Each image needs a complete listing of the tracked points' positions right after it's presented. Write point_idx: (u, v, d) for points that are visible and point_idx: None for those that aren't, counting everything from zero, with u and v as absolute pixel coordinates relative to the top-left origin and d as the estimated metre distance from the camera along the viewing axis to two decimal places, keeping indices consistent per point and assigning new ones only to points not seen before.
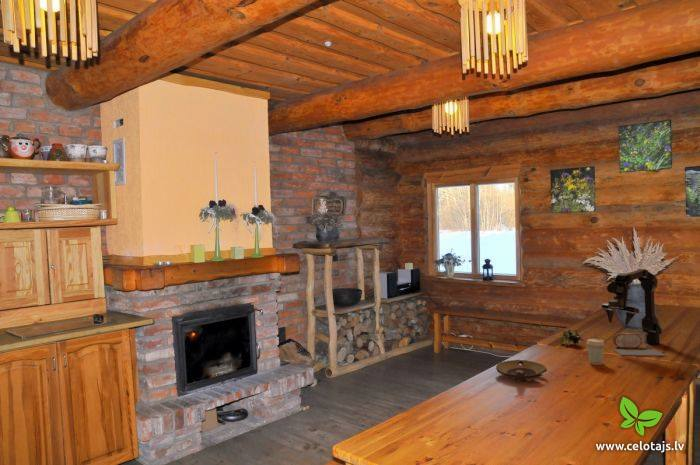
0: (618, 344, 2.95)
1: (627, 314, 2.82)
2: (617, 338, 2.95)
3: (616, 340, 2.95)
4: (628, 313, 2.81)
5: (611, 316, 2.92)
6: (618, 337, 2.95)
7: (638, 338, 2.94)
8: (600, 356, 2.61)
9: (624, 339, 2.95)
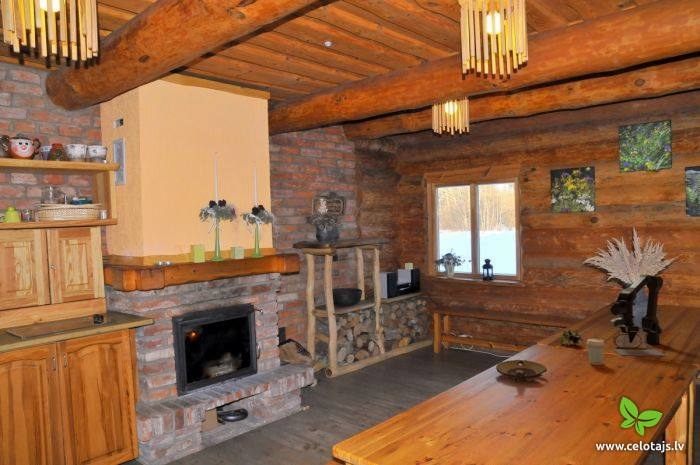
0: (618, 344, 2.95)
1: (627, 332, 2.90)
2: (617, 338, 2.95)
3: (616, 340, 2.95)
4: (627, 332, 2.90)
5: (625, 332, 3.00)
6: (618, 337, 2.95)
7: (638, 338, 2.94)
8: (600, 356, 2.61)
9: (624, 339, 2.95)
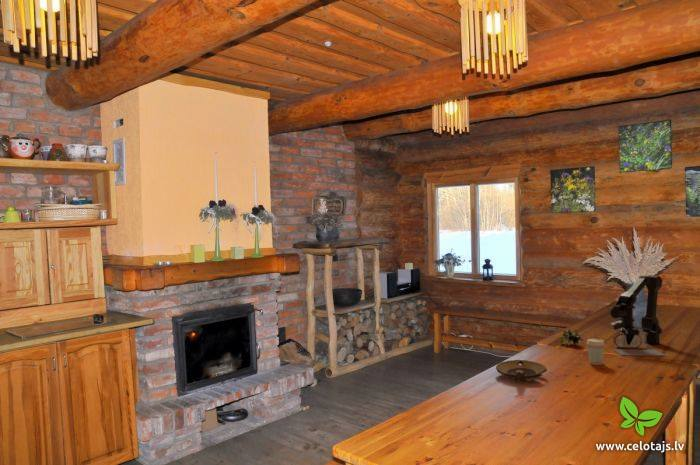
0: (618, 344, 2.95)
1: (625, 334, 2.93)
2: (617, 338, 2.95)
3: (616, 340, 2.95)
4: None
5: None
6: (618, 337, 2.95)
7: (638, 338, 2.94)
8: (600, 356, 2.61)
9: (624, 339, 2.95)
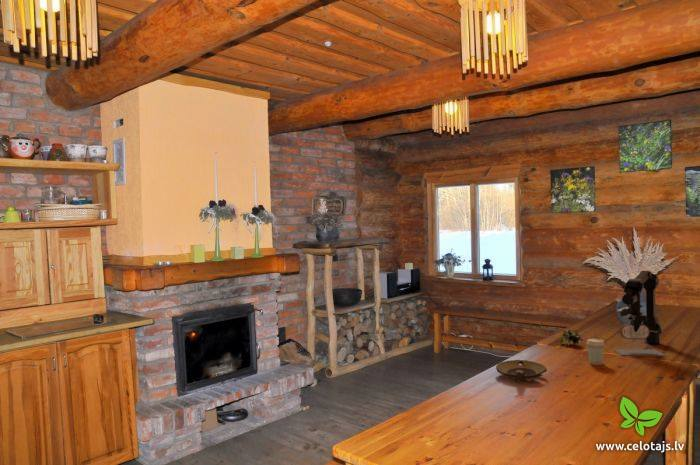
0: (625, 335, 2.86)
1: (632, 321, 2.84)
2: (624, 329, 2.86)
3: (622, 331, 2.86)
4: (632, 320, 2.83)
5: None
6: (624, 328, 2.86)
7: (645, 329, 2.84)
8: (600, 356, 2.61)
9: (631, 330, 2.85)
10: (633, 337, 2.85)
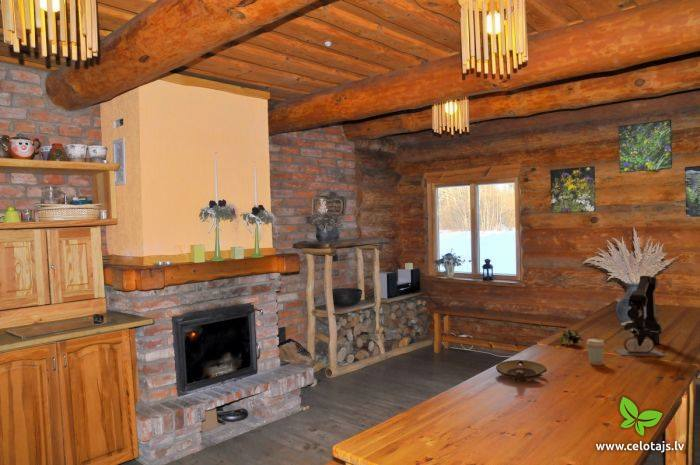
0: (629, 348, 2.82)
1: (636, 335, 2.80)
2: (628, 342, 2.82)
3: (627, 344, 2.83)
4: (636, 334, 2.80)
5: None
6: (629, 341, 2.82)
7: (650, 342, 2.81)
8: (600, 356, 2.61)
9: (635, 343, 2.82)
10: (637, 350, 2.82)
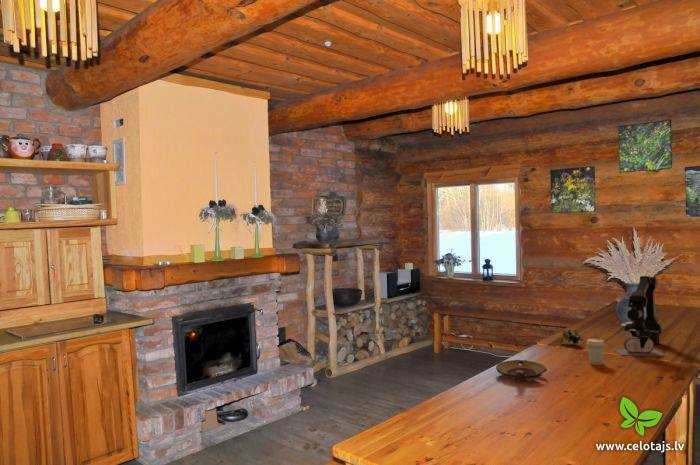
0: (629, 348, 2.82)
1: (638, 337, 2.77)
2: (628, 343, 2.82)
3: (627, 344, 2.82)
4: (638, 336, 2.77)
5: None
6: (629, 341, 2.82)
7: (650, 342, 2.80)
8: (600, 356, 2.61)
9: (636, 343, 2.82)
10: (637, 350, 2.82)
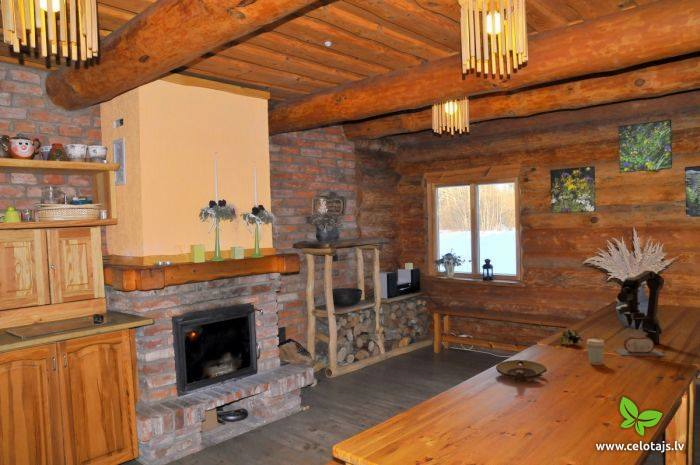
0: (629, 348, 2.82)
1: (633, 319, 2.88)
2: (628, 343, 2.82)
3: (627, 344, 2.82)
4: (632, 319, 2.87)
5: (630, 319, 2.98)
6: (629, 341, 2.82)
7: (650, 342, 2.81)
8: (600, 356, 2.61)
9: (636, 343, 2.82)
10: (637, 350, 2.82)
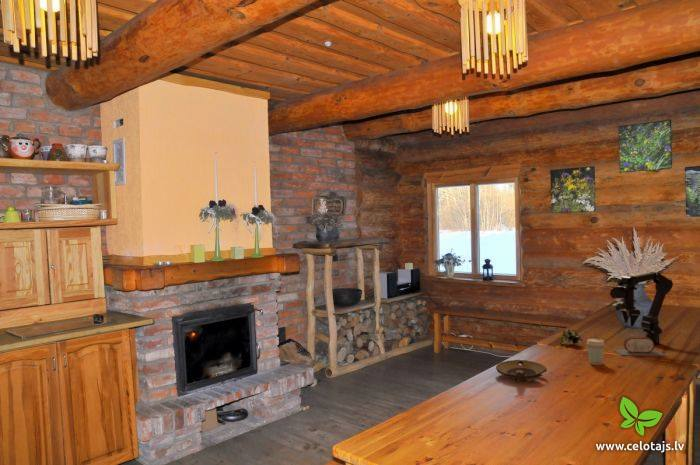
0: (629, 348, 2.82)
1: (628, 316, 2.96)
2: (628, 343, 2.82)
3: (627, 344, 2.82)
4: (628, 315, 2.95)
5: (626, 316, 3.06)
6: (629, 341, 2.82)
7: (650, 342, 2.81)
8: (600, 356, 2.61)
9: (636, 343, 2.82)
10: (637, 350, 2.82)
